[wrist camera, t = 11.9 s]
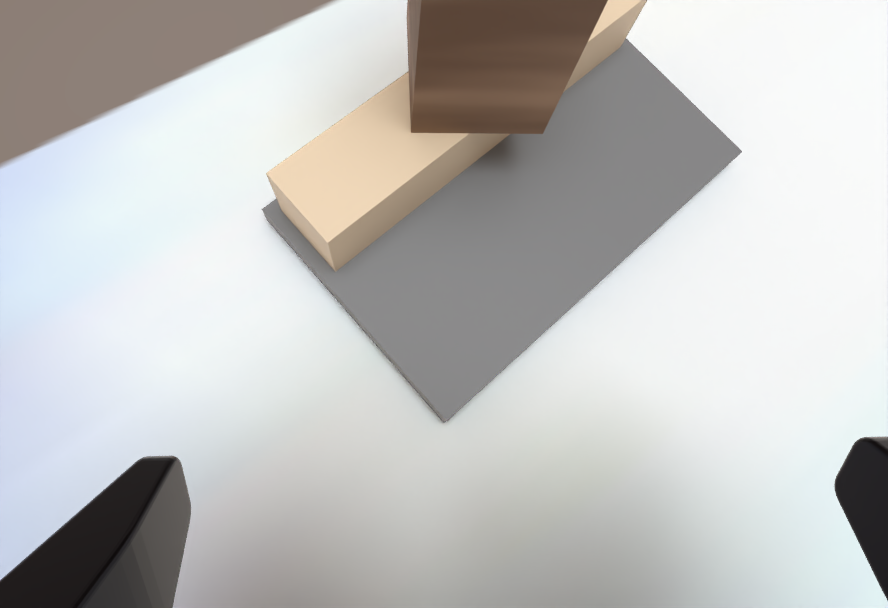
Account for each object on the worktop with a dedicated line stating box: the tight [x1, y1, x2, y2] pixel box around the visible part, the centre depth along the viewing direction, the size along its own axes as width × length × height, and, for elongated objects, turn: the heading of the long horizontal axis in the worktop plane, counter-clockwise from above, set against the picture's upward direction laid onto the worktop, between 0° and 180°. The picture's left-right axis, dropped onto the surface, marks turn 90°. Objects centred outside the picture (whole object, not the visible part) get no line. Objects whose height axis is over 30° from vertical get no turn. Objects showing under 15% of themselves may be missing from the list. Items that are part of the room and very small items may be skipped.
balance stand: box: [262, 0, 742, 422], centre depth 22 cm, size 10×16×4 cm, turn 132°
